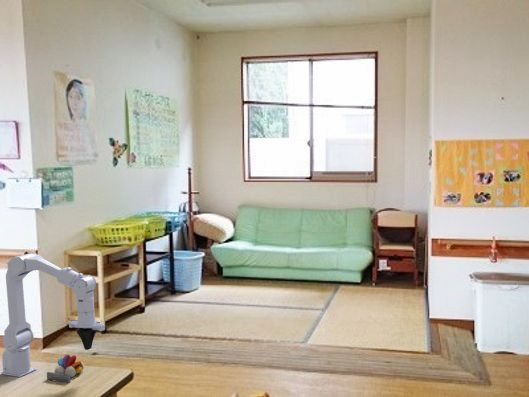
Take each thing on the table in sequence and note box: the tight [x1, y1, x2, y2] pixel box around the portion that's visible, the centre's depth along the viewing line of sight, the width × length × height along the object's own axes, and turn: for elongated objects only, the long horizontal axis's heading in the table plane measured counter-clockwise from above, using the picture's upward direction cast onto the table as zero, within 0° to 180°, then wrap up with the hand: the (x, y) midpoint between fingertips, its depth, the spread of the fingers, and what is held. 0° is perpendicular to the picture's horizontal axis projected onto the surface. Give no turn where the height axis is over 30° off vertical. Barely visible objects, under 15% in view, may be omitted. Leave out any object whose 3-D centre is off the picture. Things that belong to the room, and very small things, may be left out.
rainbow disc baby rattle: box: [54, 354, 85, 379], centre depth 206 cm, size 8×10×7 cm
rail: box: [46, 371, 71, 384], centre depth 200 cm, size 10×1×2 cm, turn 66°
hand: (88, 348), depth 201 cm, fingers closed
